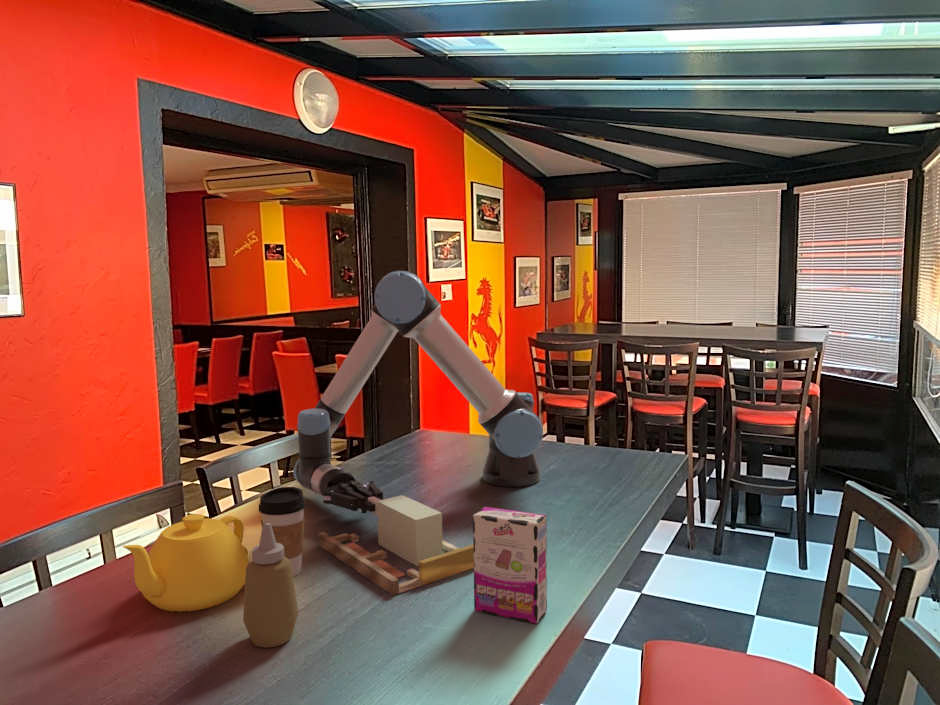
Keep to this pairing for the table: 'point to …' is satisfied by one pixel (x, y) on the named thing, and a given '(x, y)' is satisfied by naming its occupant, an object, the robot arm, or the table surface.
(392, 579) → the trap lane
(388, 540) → the brick
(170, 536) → the teapot
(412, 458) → the table surface
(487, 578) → the candy bar box
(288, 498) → the coffee cup
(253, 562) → the squeeze bottle
